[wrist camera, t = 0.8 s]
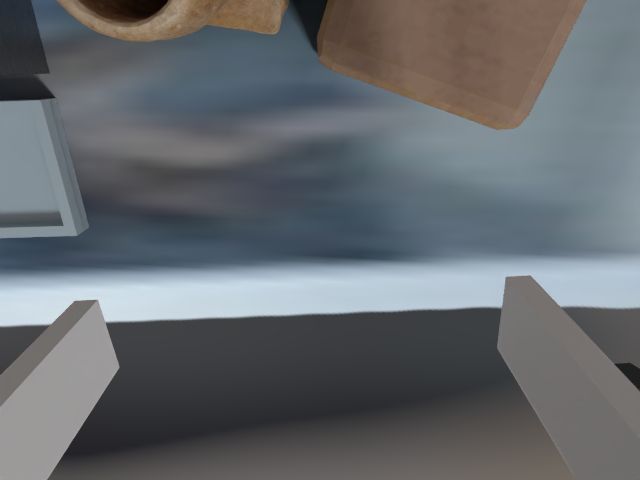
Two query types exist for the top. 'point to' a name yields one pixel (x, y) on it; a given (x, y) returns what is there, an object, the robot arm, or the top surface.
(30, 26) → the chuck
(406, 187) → the top surface
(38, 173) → the tray
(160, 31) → the stone cup
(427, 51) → the wooden block
